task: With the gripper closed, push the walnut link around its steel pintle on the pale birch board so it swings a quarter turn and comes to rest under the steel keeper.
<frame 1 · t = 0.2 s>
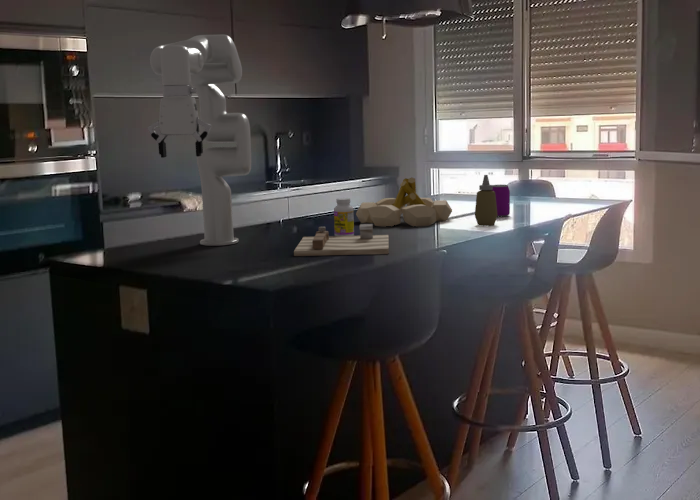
hand: (181, 156, 225), 31 cm above the countertop, tool pointing down, fingers open, 9 cm apart
supplement bottle: (344, 236, 281), on the countertop
hinge board: (343, 247, 259), on the countertop
squeeze bottle: (486, 225, 298), on the countertop
link: (320, 239, 256), point 3 cm above the countertop, hinge at 0.0°
campfire: (404, 222, 316), on the countertop
beverage can: (499, 216, 321), on the countertop
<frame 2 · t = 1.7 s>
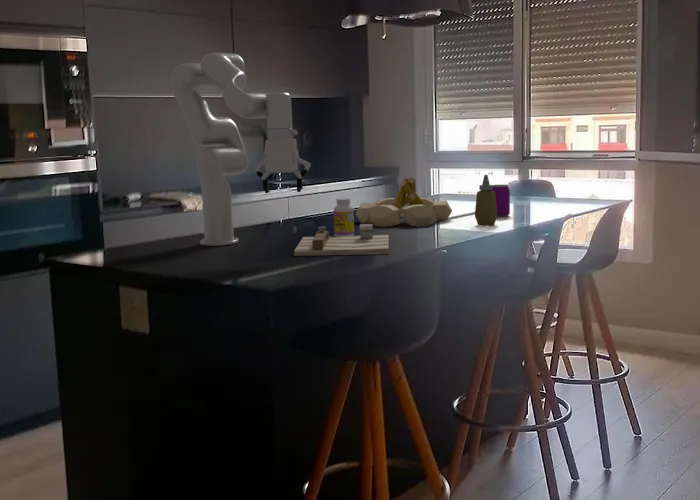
hand: (283, 192, 249), 18 cm above the countertop, tool pointing down, fingers open, 9 cm apart
nothing on the countertop moved.
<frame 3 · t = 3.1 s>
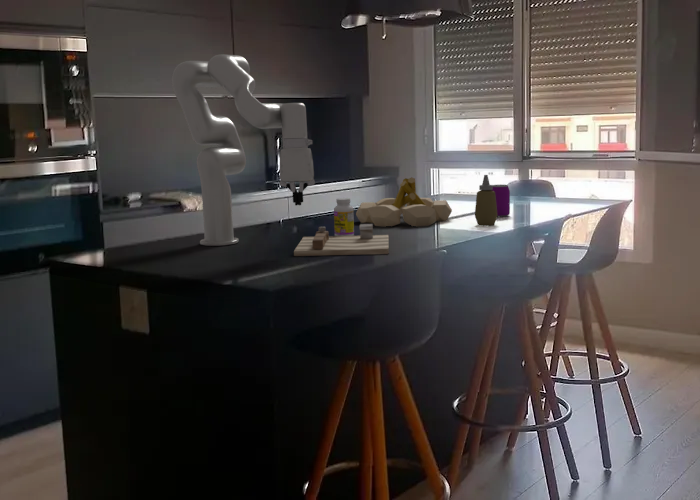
hand: (298, 204, 253), 14 cm above the countertop, tool pointing down, fingers closed
nothing on the countertop moved.
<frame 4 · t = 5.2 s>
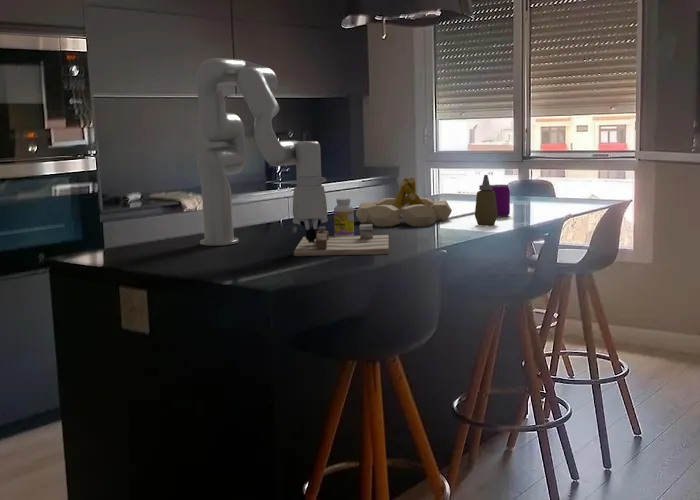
hand: (311, 241, 255), 3 cm above the countertop, tool pointing down, fingers closed
link: (321, 239, 256), point 3 cm above the countertop, hinge at 3.6°, touching gripper
everything else where it was.
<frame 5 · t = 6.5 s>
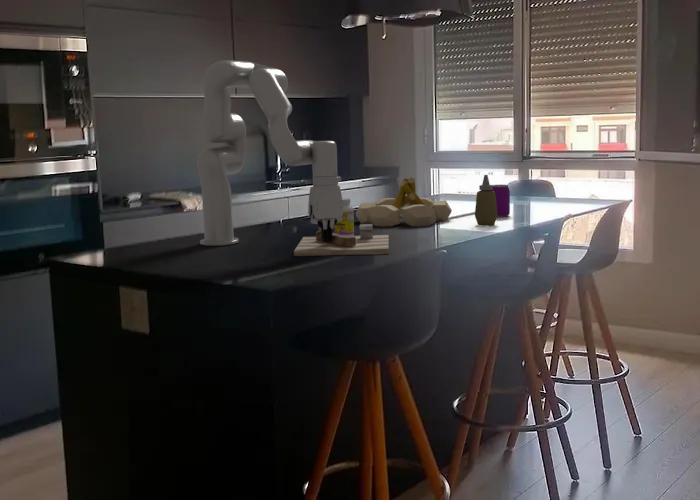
hand: (327, 241, 255), 3 cm above the countertop, tool pointing down, fingers closed
link: (334, 238, 257), point 3 cm above the countertop, hinge at 34.5°, touching gripper
everything else where it was.
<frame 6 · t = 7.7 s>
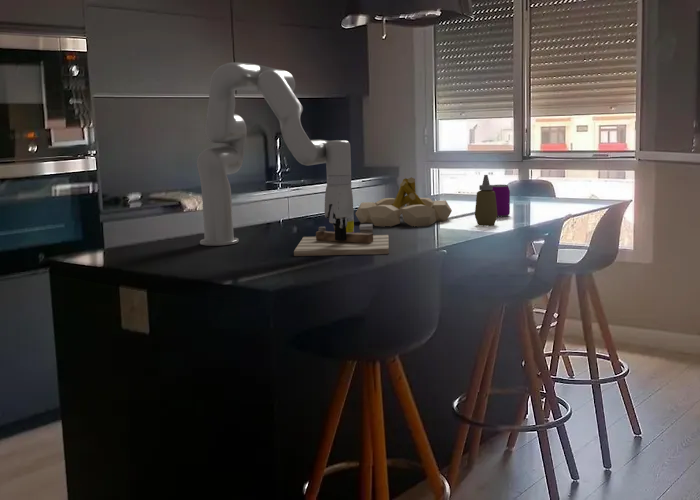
hand: (340, 240, 257), 3 cm above the countertop, tool pointing down, fingers closed
link: (343, 236, 260), point 3 cm above the countertop, hinge at 63.2°, touching gripper
everything else where it was.
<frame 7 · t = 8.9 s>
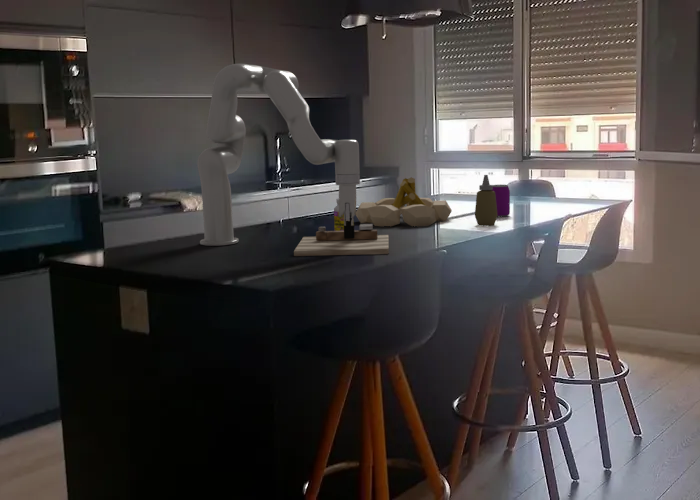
hand: (349, 238, 260), 3 cm above the countertop, tool pointing down, fingers closed
link: (346, 235, 263), point 3 cm above the countertop, hinge at 91.4°, touching gripper, hinge board
everything else where it was.
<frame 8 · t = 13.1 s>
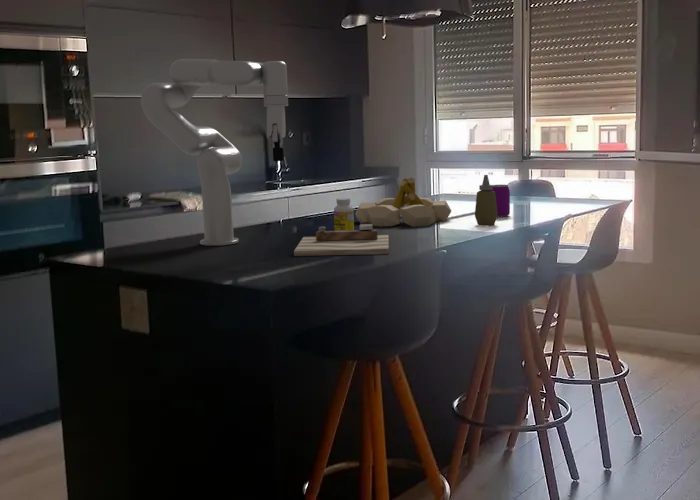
hand: (278, 160, 261), 27 cm above the countertop, tool pointing down, fingers closed
link: (346, 235, 263), point 3 cm above the countertop, hinge at 91.4°, touching hinge board
everything else where it was.
at the end: link at +91° (first picture: +0°) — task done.
